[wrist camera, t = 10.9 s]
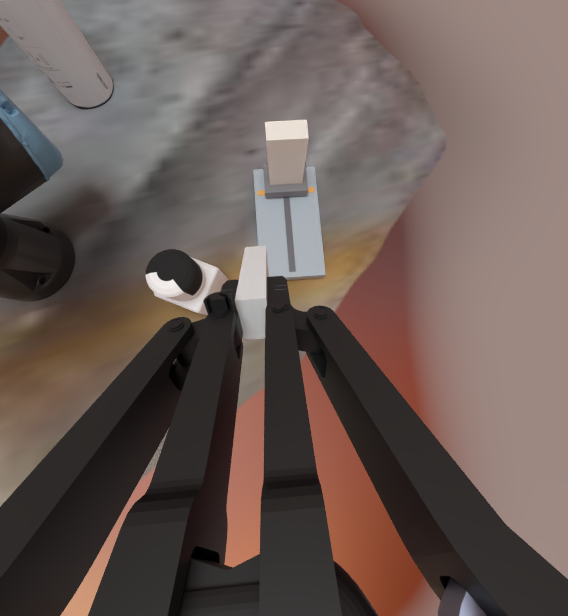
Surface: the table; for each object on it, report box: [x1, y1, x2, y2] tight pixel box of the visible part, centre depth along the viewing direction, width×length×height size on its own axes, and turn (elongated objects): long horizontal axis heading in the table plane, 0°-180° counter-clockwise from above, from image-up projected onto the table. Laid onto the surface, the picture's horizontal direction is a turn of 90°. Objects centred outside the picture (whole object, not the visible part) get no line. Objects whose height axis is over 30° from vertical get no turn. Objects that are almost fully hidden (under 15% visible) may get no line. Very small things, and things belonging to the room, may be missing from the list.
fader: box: [263, 120, 308, 198], centre depth 35 cm, size 8×6×10 cm
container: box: [146, 249, 229, 315], centre depth 34 cm, size 8×8×13 cm
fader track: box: [253, 166, 325, 280], centre depth 41 cm, size 12×22×2 cm, turn 4°
